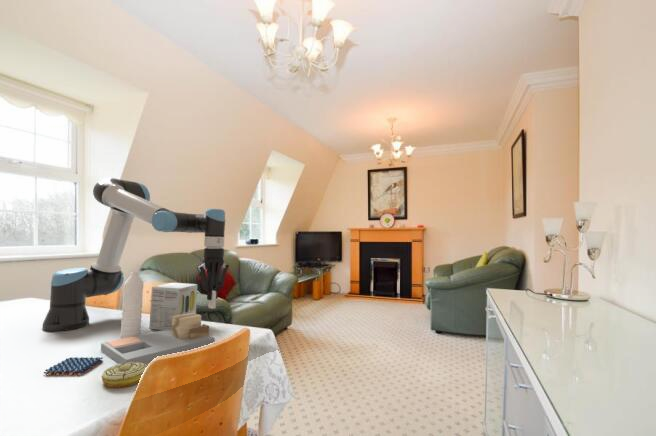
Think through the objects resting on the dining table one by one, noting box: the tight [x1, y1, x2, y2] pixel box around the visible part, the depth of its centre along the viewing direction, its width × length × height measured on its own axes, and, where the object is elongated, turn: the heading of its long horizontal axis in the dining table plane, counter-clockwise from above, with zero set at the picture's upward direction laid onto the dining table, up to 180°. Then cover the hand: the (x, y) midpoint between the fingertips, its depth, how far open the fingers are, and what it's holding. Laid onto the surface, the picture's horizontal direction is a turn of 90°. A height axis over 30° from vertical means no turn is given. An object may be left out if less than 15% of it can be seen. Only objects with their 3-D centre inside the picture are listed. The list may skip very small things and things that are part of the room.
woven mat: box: [43, 356, 104, 377], centre depth 95 cm, size 10×11×2 cm
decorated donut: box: [101, 362, 148, 389], centre depth 89 cm, size 10×11×4 cm
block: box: [171, 313, 202, 339], centre depth 121 cm, size 6×8×7 cm
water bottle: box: [120, 270, 152, 339], centre depth 125 cm, size 9×6×25 cm
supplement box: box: [148, 282, 198, 331], centre depth 140 cm, size 13×13×18 cm
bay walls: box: [189, 323, 210, 340], centre depth 122 cm, size 12×7×4 cm, turn 51°
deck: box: [100, 329, 216, 364], centre depth 114 cm, size 22×29×3 cm
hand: (211, 307), depth 128 cm, fingers closed
